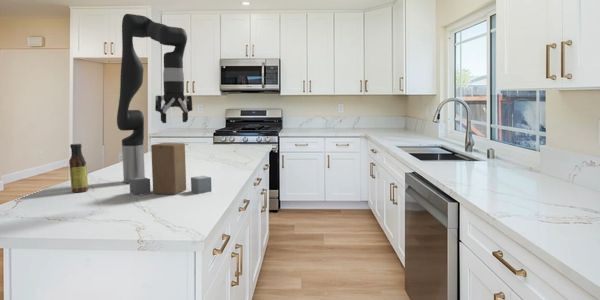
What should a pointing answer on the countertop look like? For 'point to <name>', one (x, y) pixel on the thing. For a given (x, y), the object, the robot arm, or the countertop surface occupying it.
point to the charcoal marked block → (140, 186)
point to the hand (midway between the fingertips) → (174, 122)
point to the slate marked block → (201, 184)
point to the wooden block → (168, 168)
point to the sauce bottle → (78, 169)
